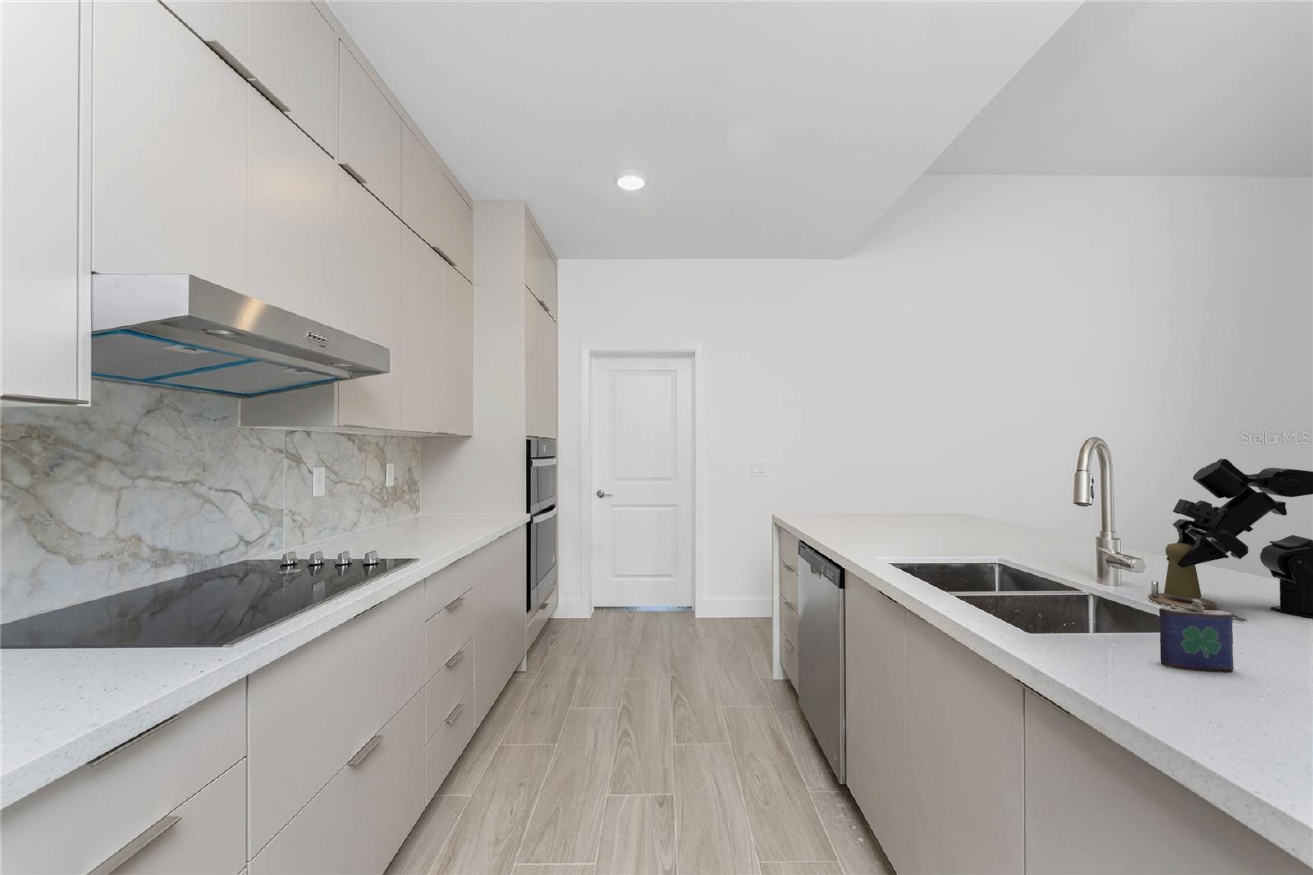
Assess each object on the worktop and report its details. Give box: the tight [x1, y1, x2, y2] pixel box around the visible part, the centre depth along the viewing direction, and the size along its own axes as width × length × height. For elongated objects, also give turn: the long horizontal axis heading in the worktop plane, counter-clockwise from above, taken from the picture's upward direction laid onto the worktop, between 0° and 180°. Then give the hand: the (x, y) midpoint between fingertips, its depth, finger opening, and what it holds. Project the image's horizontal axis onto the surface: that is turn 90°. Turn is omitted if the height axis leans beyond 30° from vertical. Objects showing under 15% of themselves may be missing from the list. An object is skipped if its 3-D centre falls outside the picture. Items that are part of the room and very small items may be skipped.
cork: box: [1163, 542, 1203, 598], centre depth 126 cm, size 6×6×11 cm
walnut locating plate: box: [1147, 580, 1218, 611], centre depth 126 cm, size 11×11×4 cm
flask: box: [1158, 599, 1234, 673], centre depth 91 cm, size 9×3×11 cm, turn 74°
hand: (1173, 563), depth 126 cm, fingers closed on cork, 5 cm apart
